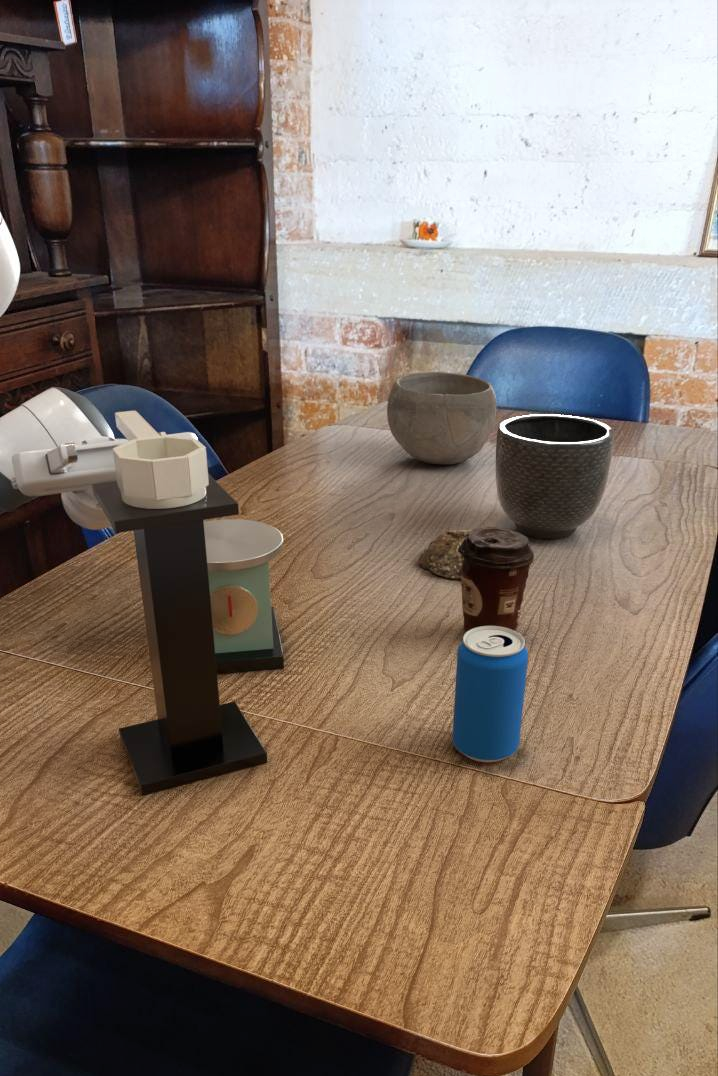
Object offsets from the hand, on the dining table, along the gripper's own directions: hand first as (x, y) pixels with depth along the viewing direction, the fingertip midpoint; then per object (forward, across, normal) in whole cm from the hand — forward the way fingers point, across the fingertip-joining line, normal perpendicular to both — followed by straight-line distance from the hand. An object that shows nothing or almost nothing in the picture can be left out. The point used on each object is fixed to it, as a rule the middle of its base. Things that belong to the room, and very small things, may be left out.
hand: (115, 444), depth 91 cm
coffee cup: (0, +39, +29) cm, 48 cm away
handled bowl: (+15, 0, +7) cm, 17 cm away
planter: (-24, +66, +15) cm, 72 cm away
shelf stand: (+7, 0, +32) cm, 33 cm away
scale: (-10, +10, +23) cm, 27 cm away
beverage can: (+16, +26, +38) cm, 49 cm away
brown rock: (-18, +47, +19) cm, 54 cm away
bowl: (-59, +70, -4) cm, 91 cm away
